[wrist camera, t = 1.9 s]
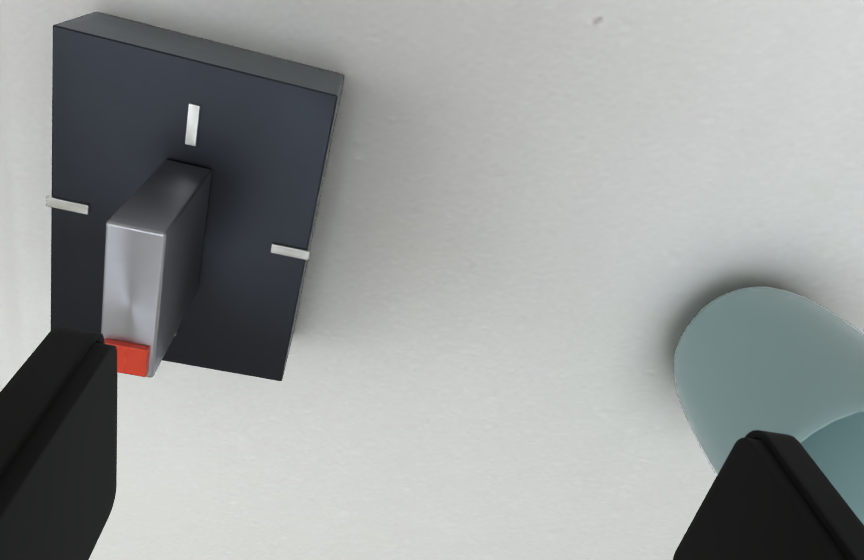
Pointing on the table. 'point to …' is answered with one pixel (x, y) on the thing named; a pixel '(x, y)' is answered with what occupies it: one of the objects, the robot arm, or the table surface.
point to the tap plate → (199, 146)
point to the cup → (776, 380)
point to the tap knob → (153, 264)
